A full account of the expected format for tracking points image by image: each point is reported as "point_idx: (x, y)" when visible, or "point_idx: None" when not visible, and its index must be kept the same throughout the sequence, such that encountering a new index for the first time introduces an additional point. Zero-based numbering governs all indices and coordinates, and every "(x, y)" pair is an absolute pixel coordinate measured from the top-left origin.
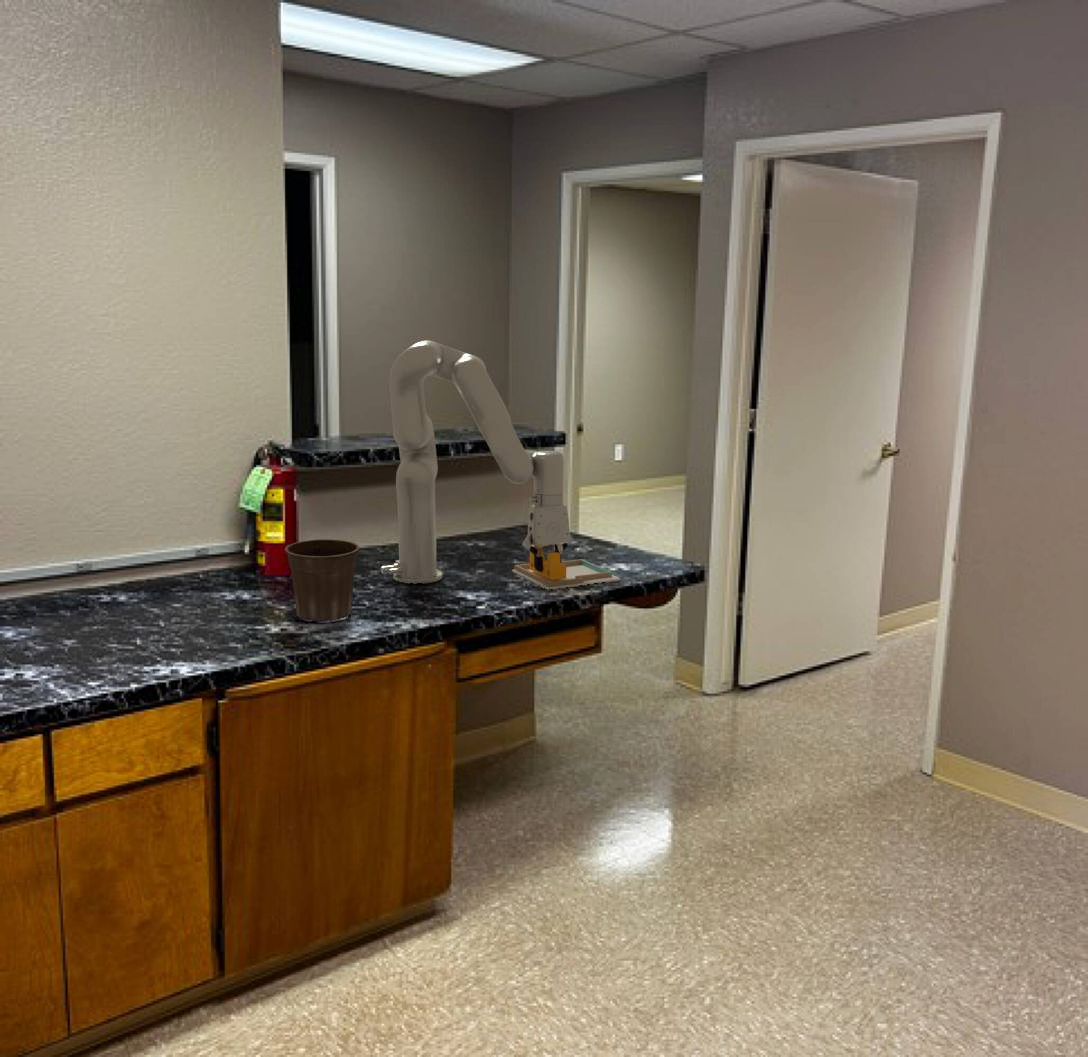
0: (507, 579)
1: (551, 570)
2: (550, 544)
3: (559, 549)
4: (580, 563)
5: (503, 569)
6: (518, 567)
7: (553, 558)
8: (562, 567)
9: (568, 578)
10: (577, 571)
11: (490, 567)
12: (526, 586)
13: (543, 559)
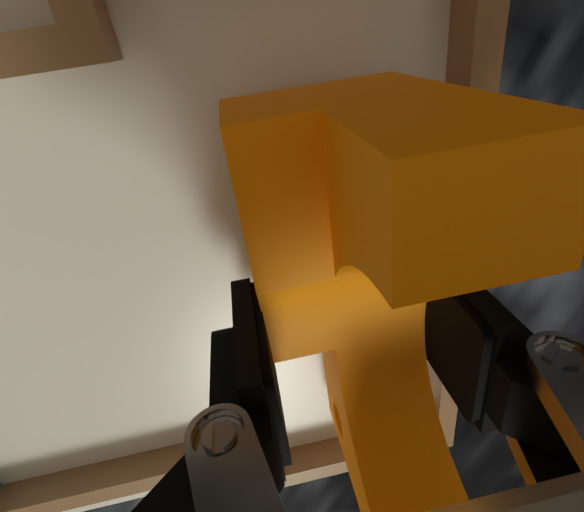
0: (551, 291)
1: (434, 82)
2: (564, 488)
3: (256, 463)
4: (3, 489)
5: (453, 450)
6: (457, 408)
7: (507, 114)
8: (280, 110)
9: (177, 161)
10: (51, 344)
11: (484, 476)
12: (566, 87)
13: (360, 414)
